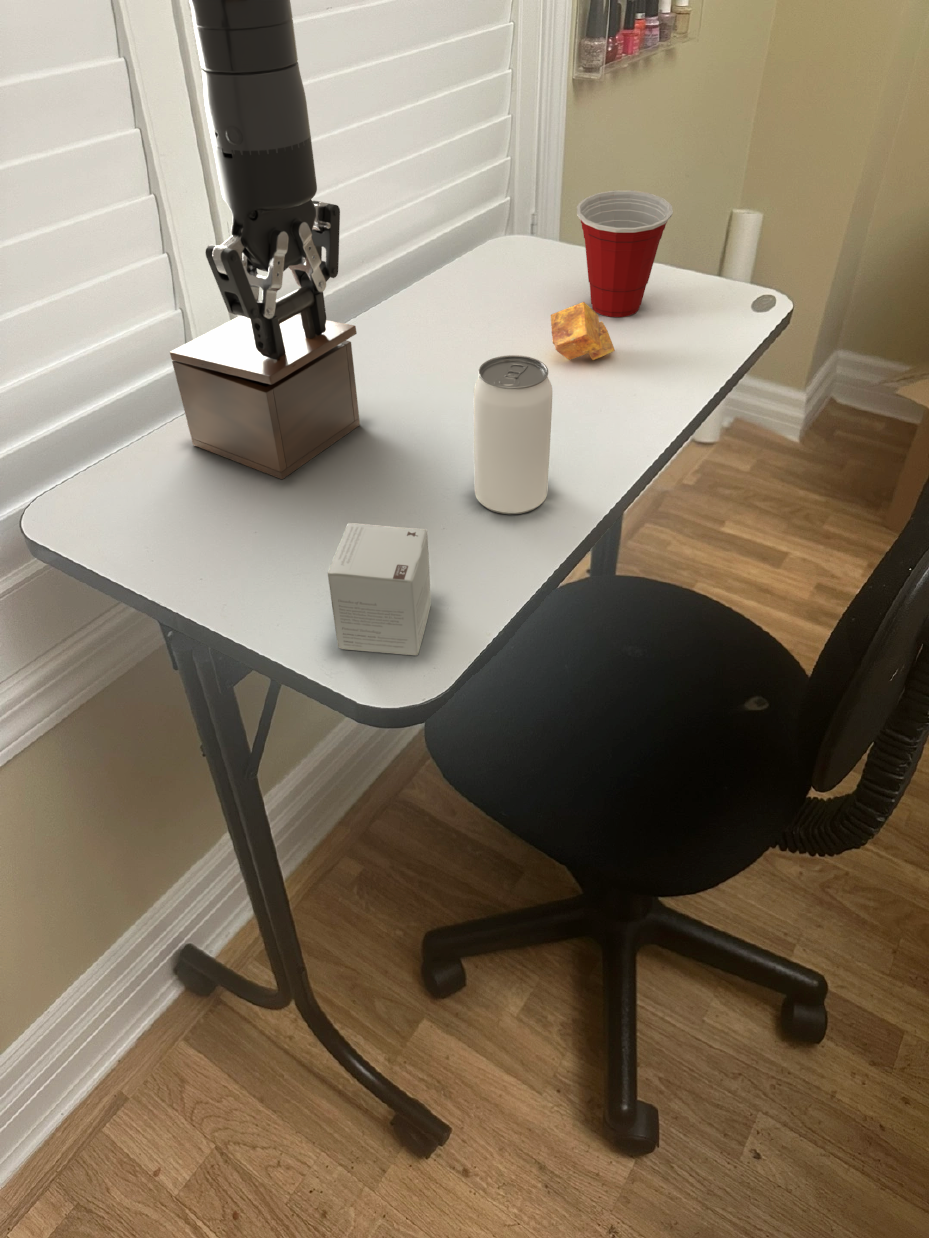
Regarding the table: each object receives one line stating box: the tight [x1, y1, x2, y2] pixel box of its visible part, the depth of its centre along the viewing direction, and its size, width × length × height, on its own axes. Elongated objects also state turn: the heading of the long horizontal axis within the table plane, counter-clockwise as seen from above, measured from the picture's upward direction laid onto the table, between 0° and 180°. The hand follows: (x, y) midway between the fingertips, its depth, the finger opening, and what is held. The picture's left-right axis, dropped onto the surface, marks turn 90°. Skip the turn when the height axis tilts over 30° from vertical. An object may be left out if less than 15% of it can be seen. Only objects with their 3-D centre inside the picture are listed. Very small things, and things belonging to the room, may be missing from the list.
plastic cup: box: [576, 189, 674, 318], centre depth 106 cm, size 11×11×12 cm
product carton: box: [327, 522, 432, 656], centre depth 65 cm, size 6×6×7 cm
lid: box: [169, 287, 358, 385], centre depth 81 cm, size 12×12×5 cm
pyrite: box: [550, 301, 616, 361], centre depth 99 cm, size 5×7×4 cm
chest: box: [171, 339, 361, 480], centre depth 86 cm, size 12×12×9 cm
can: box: [473, 354, 553, 515], centre depth 77 cm, size 6×6×12 cm
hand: (293, 343), depth 80 cm, fingers closed on lid, 5 cm apart
